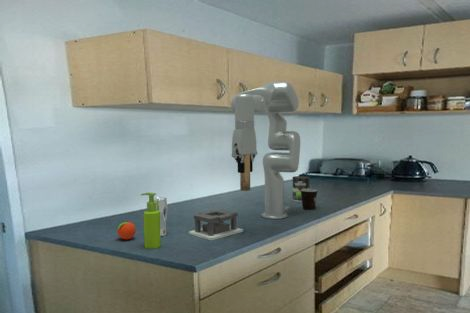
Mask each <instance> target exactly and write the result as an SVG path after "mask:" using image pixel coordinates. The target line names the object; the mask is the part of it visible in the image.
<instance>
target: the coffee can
mask: <svg viewBox="0 0 470 313" xmlns="http://www.w3.org/2000/svg"><path fill="white" fill-rule="evenodd" d="M310 179H311V177H310V176H304V175H297V176H295V175H294V176H292V199H291V200H292V201H294V202H298V203H299V202H300V203H302V196H301V190H303V189H311V188H310Z"/></svg>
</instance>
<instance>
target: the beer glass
mask: <svg viewBox="0 0 470 313" xmlns="http://www.w3.org/2000/svg"><path fill="white" fill-rule="evenodd" d="M154 201H155V202H156V210H158V211H160V237H165V236H167V235H168V233H167V227H166V226H167V225H166V224H167V217H168V201H167V197H154Z"/></svg>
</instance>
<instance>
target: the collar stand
mask: <svg viewBox="0 0 470 313" xmlns="http://www.w3.org/2000/svg"><path fill="white" fill-rule="evenodd" d="M238 214H239V213H238V212H236V211H231V210H226V209H222V208H220V209H216V210H207V211H201V212H199V214H193V220H194V230H190V231H188V235H191V236H195V237H198V238H201V239H205V240H209V241H215V240H218V239H223V238H226V237H229V236H233V235H236V234H239V233H243V232H244V229H243V228H240V227H237V217H238ZM229 220H230V224H229V223H224V222H225V221H229ZM201 222H204V223H203V224H202V227H201ZM205 222H206V223H205Z"/></svg>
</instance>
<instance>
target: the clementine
mask: <svg viewBox="0 0 470 313" xmlns="http://www.w3.org/2000/svg"><path fill="white" fill-rule="evenodd" d="M136 229H137V228H136V226H135V224H133V222H130V221H125V222H124V221H123V222H122V223H120V224H118V227H117V230H116V231H117V235H118V237H119V238H121V239H122V240H130V239H132V238H133V237H134V236H135V234H136V231H137V230H136Z"/></svg>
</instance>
